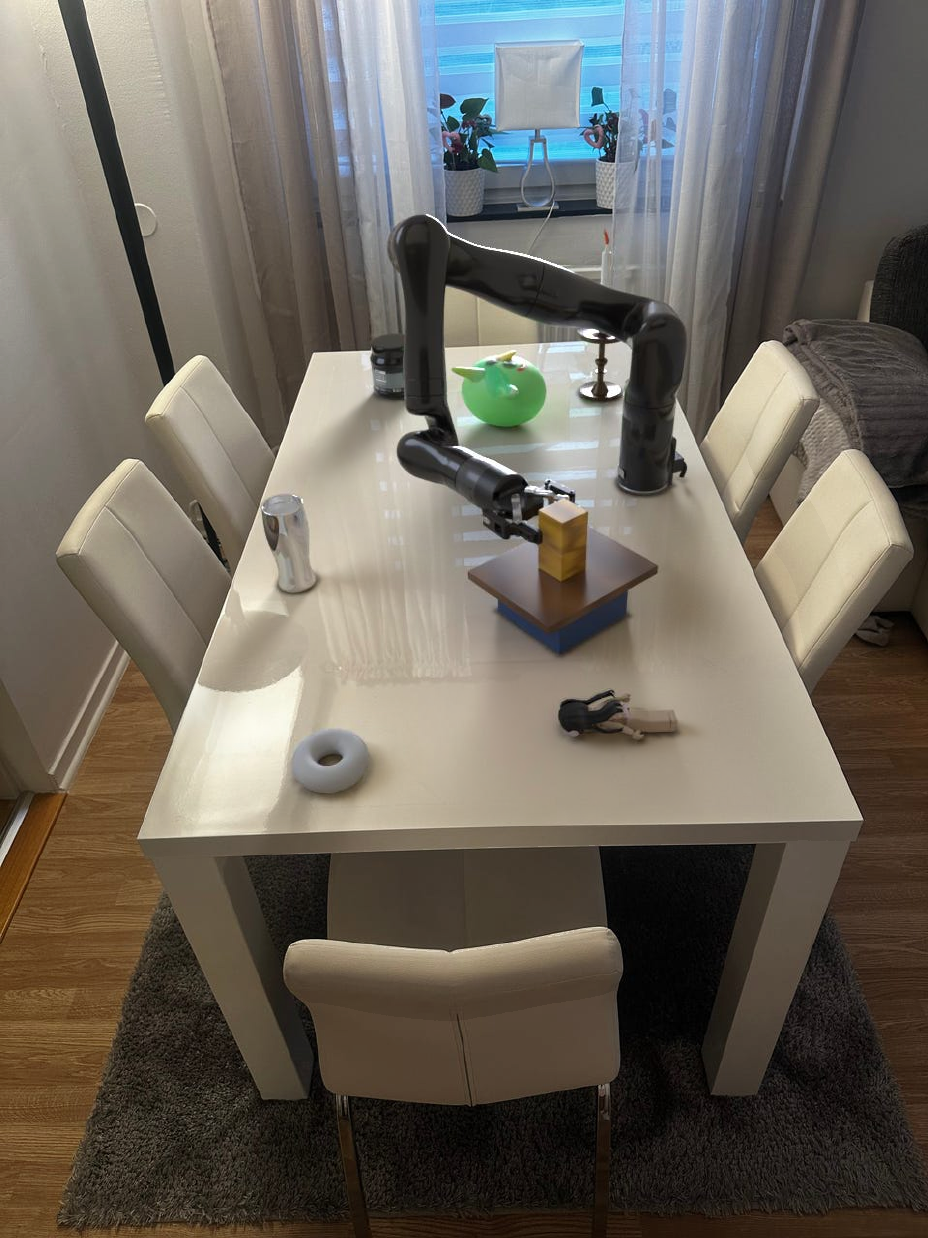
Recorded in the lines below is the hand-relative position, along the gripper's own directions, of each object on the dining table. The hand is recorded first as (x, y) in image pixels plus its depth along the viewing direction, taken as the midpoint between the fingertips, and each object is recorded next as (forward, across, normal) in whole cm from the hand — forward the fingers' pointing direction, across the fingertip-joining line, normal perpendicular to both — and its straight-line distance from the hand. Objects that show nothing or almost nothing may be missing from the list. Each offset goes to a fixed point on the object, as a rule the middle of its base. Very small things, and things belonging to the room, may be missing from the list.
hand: (562, 527), depth 129 cm
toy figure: (+23, -12, +16) cm, 30 cm away
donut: (+4, -44, +16) cm, 47 cm away
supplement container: (-86, +29, +16) cm, 92 cm away
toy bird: (-56, +37, +16) cm, 69 cm away
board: (0, 0, +8) cm, 8 cm away
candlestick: (-53, +62, +16) cm, 83 cm away
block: (0, 0, +7) cm, 7 cm away
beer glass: (-35, -27, +16) cm, 47 cm away
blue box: (0, 0, +16) cm, 16 cm away
